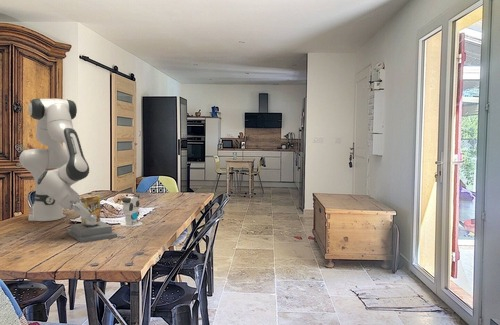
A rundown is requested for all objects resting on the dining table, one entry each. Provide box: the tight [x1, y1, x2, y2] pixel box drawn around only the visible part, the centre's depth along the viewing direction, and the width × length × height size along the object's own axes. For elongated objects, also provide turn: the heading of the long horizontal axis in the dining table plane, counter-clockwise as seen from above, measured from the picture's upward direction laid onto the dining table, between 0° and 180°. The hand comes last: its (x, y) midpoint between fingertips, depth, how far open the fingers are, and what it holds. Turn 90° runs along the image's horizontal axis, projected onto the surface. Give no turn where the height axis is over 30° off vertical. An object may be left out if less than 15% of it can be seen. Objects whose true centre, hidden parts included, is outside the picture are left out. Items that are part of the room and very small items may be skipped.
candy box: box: [80, 195, 101, 224], centre depth 203 cm, size 9×4×15 cm, turn 150°
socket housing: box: [66, 220, 118, 244], centre depth 184 cm, size 22×16×4 cm
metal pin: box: [86, 214, 97, 228], centre depth 184 cm, size 4×4×8 cm
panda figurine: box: [120, 194, 143, 228], centre depth 207 cm, size 12×11×15 cm
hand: (92, 219), depth 184 cm, fingers open, 7 cm apart
